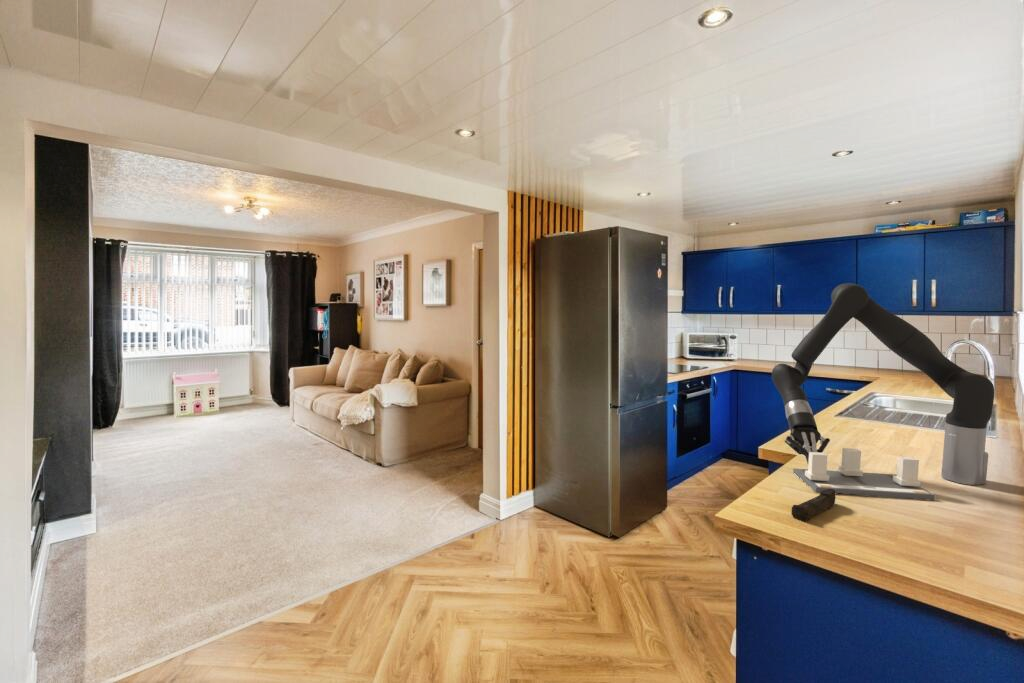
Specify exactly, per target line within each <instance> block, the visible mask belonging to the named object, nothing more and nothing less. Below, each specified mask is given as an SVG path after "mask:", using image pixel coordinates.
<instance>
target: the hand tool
mask: <svg viewBox="0 0 1024 683" xmlns="http://www.w3.org/2000/svg"><path fill="white" fill-rule="evenodd" d="M836 496H837V494H835V490H834V489H827V490H823V491H821V492H820V493H819V495H817V496H816V497H814V498H811V499H809V500H807V501H806V500H805V501H804V502H802V503H799V504H793V505H792V507H791V516H792V518H794V519H795V520H798V521H800V520H801V521H800V522H807V521H809V520H810V518H811V517H812V516H814V515H817V514H819V513H821V512H823V511H824V510H831V509H832V508H834V506H835V503H836Z"/></svg>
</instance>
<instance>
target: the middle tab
mask: <svg viewBox="0 0 1024 683" xmlns="http://www.w3.org/2000/svg"><path fill="white" fill-rule="evenodd" d="M841 452H842V453H841V464H840V465H838V466H837V471H839V472H841V473H842V474H843V475H848V476H863V473H864V471H863V470H861V463H862V462H861V460H862V459H861V458H862V451H861V450H860V449H858V448H850V447H849V448H848V447H847V448H845V447H842V451H841Z"/></svg>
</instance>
